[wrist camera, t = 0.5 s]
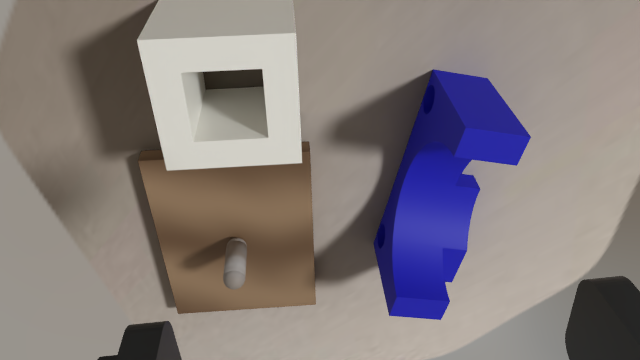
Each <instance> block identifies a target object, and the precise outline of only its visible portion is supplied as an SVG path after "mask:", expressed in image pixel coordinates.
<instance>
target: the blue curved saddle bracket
mask: <svg viewBox="0 0 640 360" xmlns="http://www.w3.org/2000/svg"><path fill="white" fill-rule="evenodd" d="M530 138H531V137H530V135H529V134H528V132H527V131H526V130H525V128H524V127H523V126H522V124H521V123H520V122H519V120H518V119H517V118H516V116H515V115H514V113H513V112H512V111H511V109H510V108H509V107H508V105H507V104H506V103H505V101H504V100H503V99H502V97H501V96H500V95H499V93H498V92H497V90H496V89H495V88H494V86H493V85H492V84H491V82H490V81H489V80H488V78H482V77H476V76H470V75H463V74H457V73H451V72H445V71H439V70H433V71H432V74H431V77H430V80H429V83H428V86H427V88H426V91H425V94H424V97H423V100H422V103H421V106H420V109H419V112H418V115H417V118H416V121H415V124H414V126H413V129H412V132H411V135H410V138H409V141H408V144H407V147H406V150H405V153H404V156H403V159H402V162H401V164H400V167H399V170H398V173H397V176H396V179H395V182H394V185H393V188H392V191H391V194H390V197H389V200H388V202H387V205H386V208H385V211H384V214H383V217H382V220H381V223H380V226H379V229H378V232H377V235H376V238H375V240H374V248H375V253H376V257H377V262H378V266H379V271H380V275H381V280H382V285H383V289H384V294H385V298H386V303H387V307H388V312H389V316H401V317H413V318H426V319H438V320H441V318H442V316H443V314H444V312H445V310H446V308H447V306H448V304H449V302H450V300H449V297H448V294H447V290H446V285H445V282H452V281H453V279H454V277H455V274H456V272H457V270H458V268H459V266H460V264H461V262H462V260H463V258H464V256H465V254H466V252H467V241H468V231H469V225H470V219H471V215H472V211H473V207H474V204H475V201H476V198H477V195H478V193H479V190H480V188H479V186H478V184H477V182H476V180H475V178H474V176H473V175H465V174H462V172H463V170H464V169H465V167H466V166H467V165H468V163H469V162H470V161H471V160H472V159H473V160H480V161H487V162H495V163H502V164H509V165H517V164H518V162H519V160H520V158H521V156H522V154H523V152H524V150H525V148H526V146H527V144H528V142H529V140H530Z"/></svg>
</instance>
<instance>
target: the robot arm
mask: <svg viewBox="0 0 640 360" xmlns="http://www.w3.org/2000/svg"><path fill="white" fill-rule="evenodd" d="M565 343H566V349H567V353H568V356H569V359H570V360H640V291H639V290H638V289H637V288H636V287H635V286H634V284H633V283H632V282H631V281H630V280H629V279H628V278H626V277H623V276H616V277H606V278H597V279H587V280H582V281H581V282H580V284H579V285H578V288H577V292H576V295H575V300H574V303H573V307H572V311H571V315H570V318H569V322H568V326H567V329H566V334H565ZM98 360H182V359H181V356H180V352H179V349H178V346H177V342H176V339H175V335H174V332H173V328H172V326H171V324H170V322H169V321H164V322H154V323H144V324H135V325H129V326H128V327H127V328H126V330H125V332H124V335H123V339H122V342H121V345H120V348H119V352H118V355H114V356H104V357H99V359H98Z"/></svg>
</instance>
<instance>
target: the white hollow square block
mask: <svg viewBox="0 0 640 360" xmlns="http://www.w3.org/2000/svg"><path fill="white" fill-rule="evenodd" d="M137 43H138V48H139V52H140V56H141V61H142V65H143V69H144V74H145V78H146V82H147V87H148V91H149V95H150V100H151V104H152V109H153V113H154V117H155V122H156V126H157V130H158V135H159V139H160V143H161V148H162V152H163V157H164V161H165V165H166V170H167V171H170V170H188V169H206V168H223V167H241V166H259V165H277V164H295V163H302V147H301V126H300V106H299V85H298V65H297V44H296V28H295V17H294V6H293V0H159V1H158V3H157V4H156V6H155V8H154V10H153V12H152V13H151V15H150V17H149V19H148V21H147V23H146V24H145V26H144V28H143V30H142V32H141V34H140V35H139V37H138V39H137ZM249 69H262V71H263V82H264V87H247V88H227V89H207V90H206V89H205V83H204V76H203V72H208V71H228V70H249Z"/></svg>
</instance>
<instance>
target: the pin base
mask: <svg viewBox="0 0 640 360" xmlns="http://www.w3.org/2000/svg"><path fill="white" fill-rule="evenodd" d="M301 147H302V163H295V164H277V165H259V166H241V167H223V168H206V169H188V170H170V171H167V170H166V165H165V161H164V157H163V152H162V150H147V151H141V154H140V157H139V159H138V164H139V167H140V171H141V175H142V179H143V182H144V186H145V190H146V194H147V198H148V201H149V205H150V209H151V213H152V217H153V220H154V224H155V228H156V232H157V235H158V239H159V243H160V247H161V251H162V254H163V258H164V262H165V266H166V270H167V273H168V277H169V281H170V285H171V288H172V292H173V296H174V300H175V304H176V307H177V311H178V314H182V313H196V312H211V311H226V310H241V309H256V308H270V307H285V306H300V305H315V304H316V297H315V270H314V244H313V217H312V191H311V164H310V146H309V142H301Z"/></svg>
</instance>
